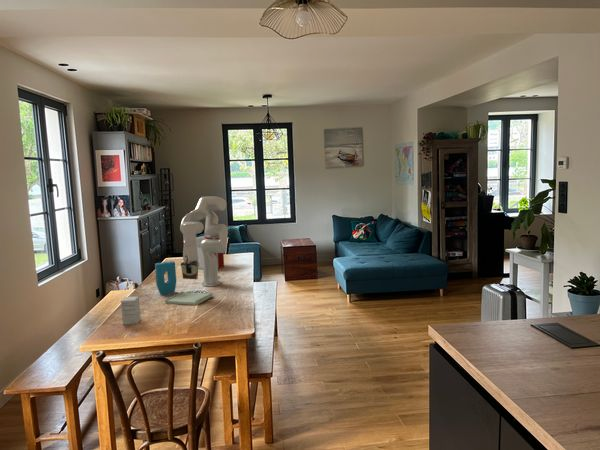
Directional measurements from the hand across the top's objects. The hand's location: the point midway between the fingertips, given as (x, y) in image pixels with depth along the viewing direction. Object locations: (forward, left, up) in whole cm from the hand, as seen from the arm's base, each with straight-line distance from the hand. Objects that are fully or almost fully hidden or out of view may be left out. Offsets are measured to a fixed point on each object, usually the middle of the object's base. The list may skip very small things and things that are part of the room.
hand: (191, 271), depth 271 cm
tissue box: (-83, -34, -16) cm, 91 cm away
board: (+5, 0, -16) cm, 17 cm away
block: (-6, -23, -16) cm, 29 cm away
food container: (0, 0, -4) cm, 4 cm away
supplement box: (+48, -8, -16) cm, 51 cm away
